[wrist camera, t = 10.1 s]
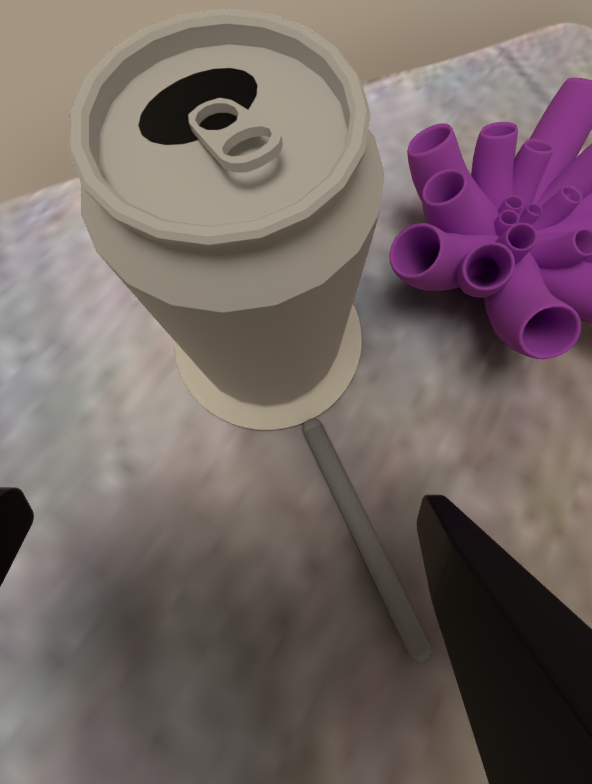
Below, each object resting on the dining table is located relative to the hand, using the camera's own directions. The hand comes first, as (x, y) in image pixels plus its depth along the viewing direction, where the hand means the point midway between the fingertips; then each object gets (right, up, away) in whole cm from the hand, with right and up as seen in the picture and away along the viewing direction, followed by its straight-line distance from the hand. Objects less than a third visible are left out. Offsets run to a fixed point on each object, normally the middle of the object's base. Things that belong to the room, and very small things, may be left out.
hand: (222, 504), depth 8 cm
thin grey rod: (+5, -4, +9) cm, 11 cm away
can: (0, +5, +11) cm, 12 cm away
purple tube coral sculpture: (+13, +9, +12) cm, 20 cm away
